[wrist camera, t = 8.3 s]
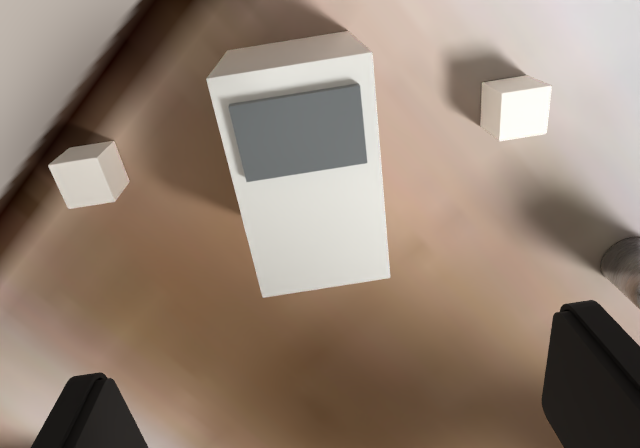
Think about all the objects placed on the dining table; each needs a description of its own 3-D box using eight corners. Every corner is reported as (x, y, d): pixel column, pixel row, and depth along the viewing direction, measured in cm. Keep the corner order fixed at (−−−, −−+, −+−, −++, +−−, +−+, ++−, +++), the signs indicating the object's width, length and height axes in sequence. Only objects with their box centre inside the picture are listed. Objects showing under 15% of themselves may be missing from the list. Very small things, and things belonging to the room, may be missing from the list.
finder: (366, 209, 27) (392, 282, 21) (267, 224, 27) (262, 303, 21) (348, 30, 22) (374, 53, 16) (227, 49, 22) (204, 81, 16)
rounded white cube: (523, 119, 25) (546, 133, 23) (480, 126, 25) (499, 141, 23) (527, 75, 24) (552, 85, 22) (481, 82, 24) (501, 93, 22)
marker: (129, 181, 25) (114, 201, 23) (87, 188, 25) (68, 209, 23) (114, 140, 24) (97, 157, 22) (69, 147, 24) (47, 165, 22)
